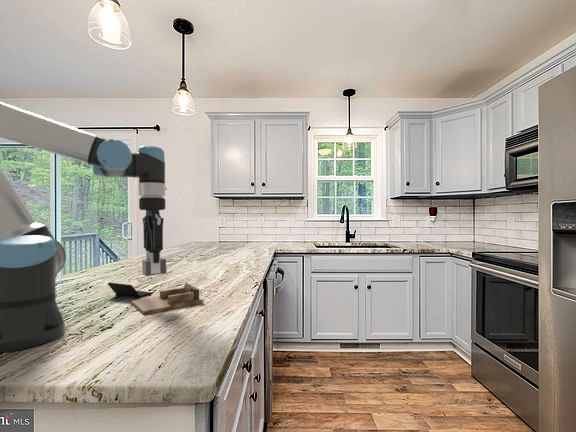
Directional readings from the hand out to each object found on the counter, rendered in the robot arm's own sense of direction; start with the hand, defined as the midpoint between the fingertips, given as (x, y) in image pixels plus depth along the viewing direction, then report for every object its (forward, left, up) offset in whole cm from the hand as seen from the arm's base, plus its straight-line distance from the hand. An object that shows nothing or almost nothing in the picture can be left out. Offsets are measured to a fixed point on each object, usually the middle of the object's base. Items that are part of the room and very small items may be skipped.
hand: (153, 272), depth 98 cm
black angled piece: (-3, +18, -11) cm, 21 cm away
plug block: (0, 0, -1) cm, 1 cm away
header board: (+4, 0, -11) cm, 11 cm away
